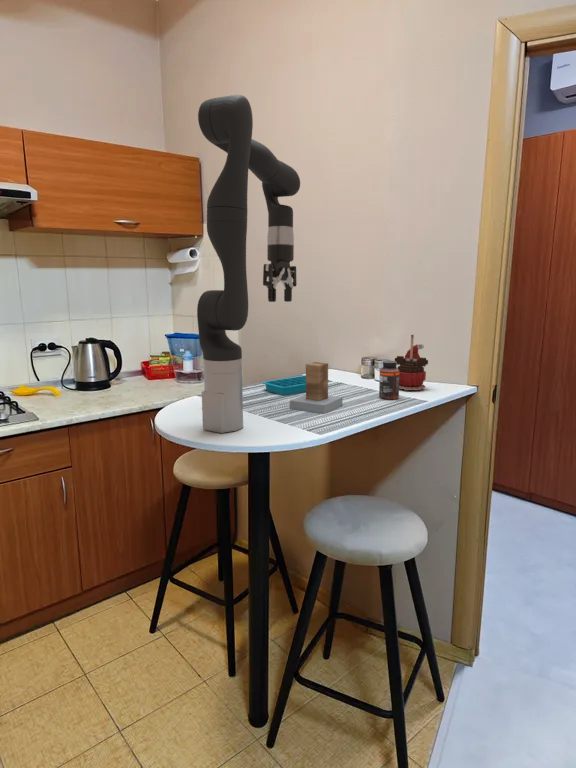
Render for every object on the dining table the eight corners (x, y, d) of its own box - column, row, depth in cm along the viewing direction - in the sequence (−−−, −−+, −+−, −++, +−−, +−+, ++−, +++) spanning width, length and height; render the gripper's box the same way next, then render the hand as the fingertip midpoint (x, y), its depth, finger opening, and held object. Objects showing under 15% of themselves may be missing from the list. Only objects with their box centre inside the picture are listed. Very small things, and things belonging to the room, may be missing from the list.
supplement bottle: (397, 395, 161) (399, 359, 159) (399, 400, 155) (401, 363, 153) (378, 395, 162) (379, 359, 159) (379, 399, 156) (380, 362, 154)
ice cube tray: (261, 391, 170) (261, 382, 169) (307, 383, 182) (307, 374, 182) (283, 397, 161) (283, 387, 160) (330, 388, 173) (330, 379, 173)
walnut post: (318, 401, 144) (318, 365, 142) (305, 398, 147) (305, 364, 145) (328, 398, 147) (328, 363, 145) (315, 395, 150) (315, 362, 148)
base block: (324, 416, 140) (324, 405, 139) (289, 410, 146) (289, 400, 145) (342, 407, 149) (342, 397, 148) (309, 402, 155) (309, 393, 154)
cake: (390, 390, 169) (392, 335, 166) (397, 384, 178) (400, 332, 174) (422, 393, 165) (425, 337, 161) (429, 387, 173) (432, 334, 169)
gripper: (278, 241, 139) (277, 302, 142) (304, 245, 151) (303, 301, 154) (255, 242, 143) (255, 301, 146) (282, 246, 155) (282, 301, 158)
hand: (280, 301), depth 150 cm, fingers open, 8 cm apart
